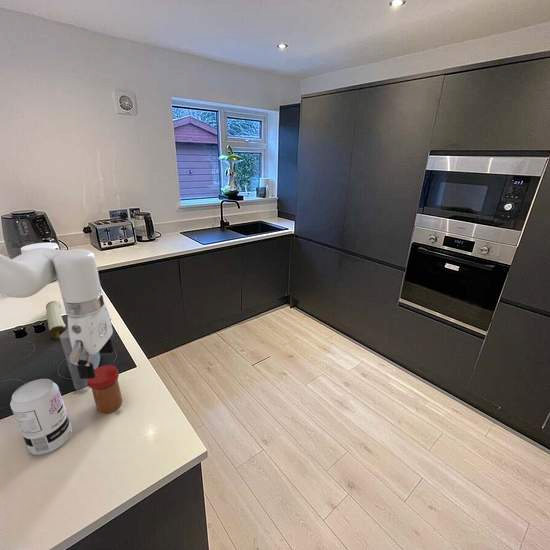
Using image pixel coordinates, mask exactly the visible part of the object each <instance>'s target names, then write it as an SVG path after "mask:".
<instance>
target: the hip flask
mask: <svg viewBox="0 0 550 550" xmlns="http://www.w3.org/2000/svg"><path fill="white" fill-rule="evenodd" d="M65 329H66V330H65V331H64V332H63V333H62V334H61V335H60V336H59V337H60V339H59V340H60V343H61V346H62V350H63V353H64V356H65V357H64V358H65V360H66V364H67V366H68V370H69V373H70V377H71V381H72V384H73V387H74V389H75V390H76V391H80V390H81V391H82V390H83V389H85V388H87V386H88V383H87V379H81V378H80V376H79V372H78V368H77V367H75V366H73V365H72V363H71V362H70V361H69V360H68V359H69V356H70V354H71V352H72V346H71V342H70V336H69V330H68V327H66V328H65ZM82 352H87V351H86V350H85V349H83V350H82ZM86 356H87V355H82V356H81V360H85V361H86ZM100 361H101V353H100V351H99V352H98V353H96V354H94V355H93V354H92V356H91V362H90V363H93V367H94V369H96V368H98V367H99V365H100Z"/></svg>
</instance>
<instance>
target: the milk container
mask: <svg viewBox="0 0 550 550" xmlns="http://www.w3.org/2000/svg"><path fill="white" fill-rule="evenodd" d="M35 248H50V249H58V250H60V248H59V245H58V243H57V242H37V243H31V244H26V245H24V246H21V248H20V252H21V254H23V253H25V252H27V251H29V250H31V249H35Z"/></svg>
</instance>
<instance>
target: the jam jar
mask: <svg viewBox="0 0 550 550" xmlns="http://www.w3.org/2000/svg"><path fill="white" fill-rule="evenodd" d="M119 383H120V382H119V378H118V379H117V380H116V381H115V382H114V383H113V384H112V385H110V386H108V387H105V388H102V389H92V388H90V389H91V392H92V395H93V399H94V403H95V407H96V410H97V412H98V413H99V414H102V415H107V414H108V415H109V414H111V413H113V412H116V411H117V410H118V409H119V408H120V407H121V406H122V404H123V396H122V392H121V387H120V384H119Z"/></svg>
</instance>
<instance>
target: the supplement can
mask: <svg viewBox="0 0 550 550" xmlns="http://www.w3.org/2000/svg"><path fill="white" fill-rule="evenodd" d="M9 403H10V404H9V407H10V409H11V411H12V414H13V416H14V418H15V421H16V423H17V425H18V428H19V430H20V434H21V436H22V438H23V440H24V442H25V445H26V448H27V450H28V452H29V453H30V454H33V455H45V454H48V453H51V452H53V451H55V450H57V449H58V448H60V447H62V446H63V445H64V444H65V442H66V441H67V440H68V439H69V438H70V436H71V434H72V430H73V429H72V428H73V427H72V424H71V421H70V419H69V416H68V412H67V409H66V407H65V404H64V400H63V397H62V394H61V391H60V388H59V386H58V384H57V383H55V382H54V381H53V380H52V379H50V378H39V379H34V380H32V381H28V382H26V383H25V384H23V385H21V386H20V387H18V388H17V389H16V390H15V391H14V392H13V393H12V396H11V399H10V402H9Z"/></svg>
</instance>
